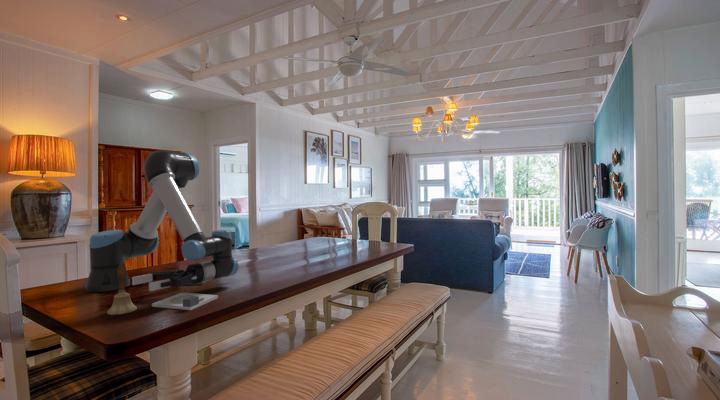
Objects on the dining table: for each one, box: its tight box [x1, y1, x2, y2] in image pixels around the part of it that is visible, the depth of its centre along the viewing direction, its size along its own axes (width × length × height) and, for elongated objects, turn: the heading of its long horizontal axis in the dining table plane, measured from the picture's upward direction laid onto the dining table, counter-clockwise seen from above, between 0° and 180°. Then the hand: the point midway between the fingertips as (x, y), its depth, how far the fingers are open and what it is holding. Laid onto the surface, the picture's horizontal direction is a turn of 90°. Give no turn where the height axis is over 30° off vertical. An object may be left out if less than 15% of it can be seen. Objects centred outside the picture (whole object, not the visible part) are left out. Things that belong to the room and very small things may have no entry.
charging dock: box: [151, 292, 219, 311], centre depth 127 cm, size 16×14×3 cm
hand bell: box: [106, 262, 138, 316], centre depth 118 cm, size 8×8×16 cm
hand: (140, 284), depth 122 cm, fingers open, 13 cm apart
